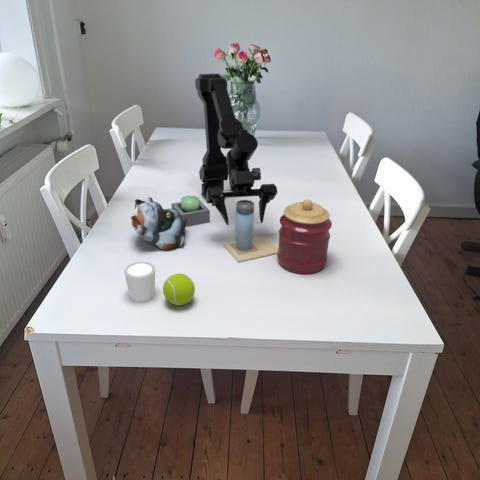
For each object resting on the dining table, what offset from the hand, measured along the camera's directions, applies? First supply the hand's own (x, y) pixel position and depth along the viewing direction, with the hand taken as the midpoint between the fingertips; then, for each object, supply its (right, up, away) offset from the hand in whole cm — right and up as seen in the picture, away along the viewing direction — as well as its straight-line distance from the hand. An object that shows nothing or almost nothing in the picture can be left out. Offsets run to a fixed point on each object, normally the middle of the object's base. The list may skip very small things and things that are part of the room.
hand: (244, 223), depth 123 cm
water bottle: (0, -6, +4) cm, 7 cm away
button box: (-16, +2, +19) cm, 26 cm away
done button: (-16, +4, +18) cm, 25 cm away
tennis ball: (-15, -19, -18) cm, 30 cm away
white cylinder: (-24, -17, -16) cm, 33 cm away
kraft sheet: (+2, -7, +4) cm, 8 cm away
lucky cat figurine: (-23, -5, +7) cm, 25 cm away
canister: (+15, -10, -1) cm, 18 cm away
